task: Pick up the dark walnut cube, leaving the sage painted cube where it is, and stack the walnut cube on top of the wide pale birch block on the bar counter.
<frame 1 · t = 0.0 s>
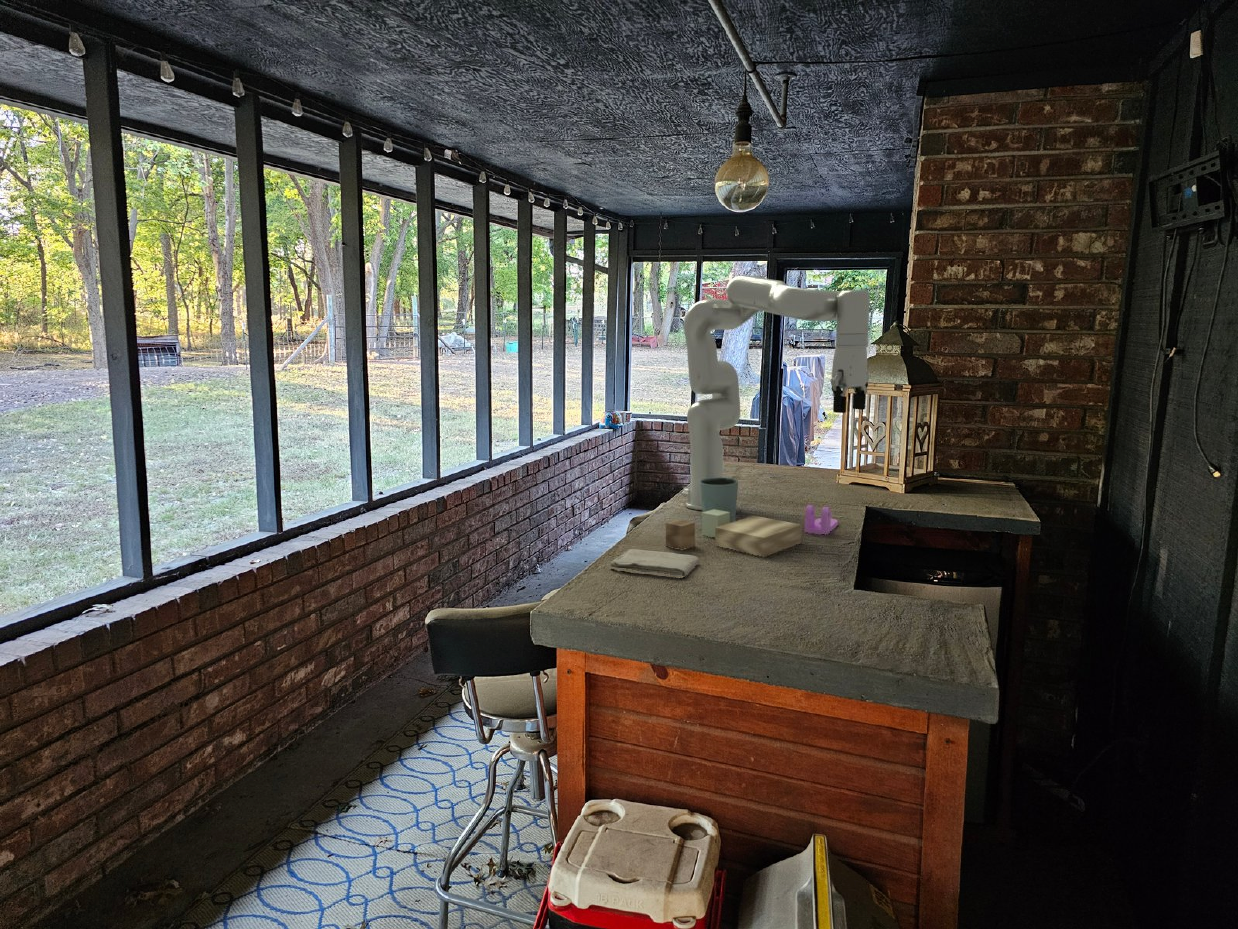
hand: (849, 410, 193), 31 cm above the table, tool pointing down, fingers open, 9 cm apart
washcloth: (654, 570, 172), on the table
birch block: (758, 546, 189), on the table
sage cube: (715, 535, 198), on the table
walnut cube: (680, 546, 188), on the table
bracket: (822, 529, 203), on the table
grey-green hollow cylinder: (718, 525, 208), on the table
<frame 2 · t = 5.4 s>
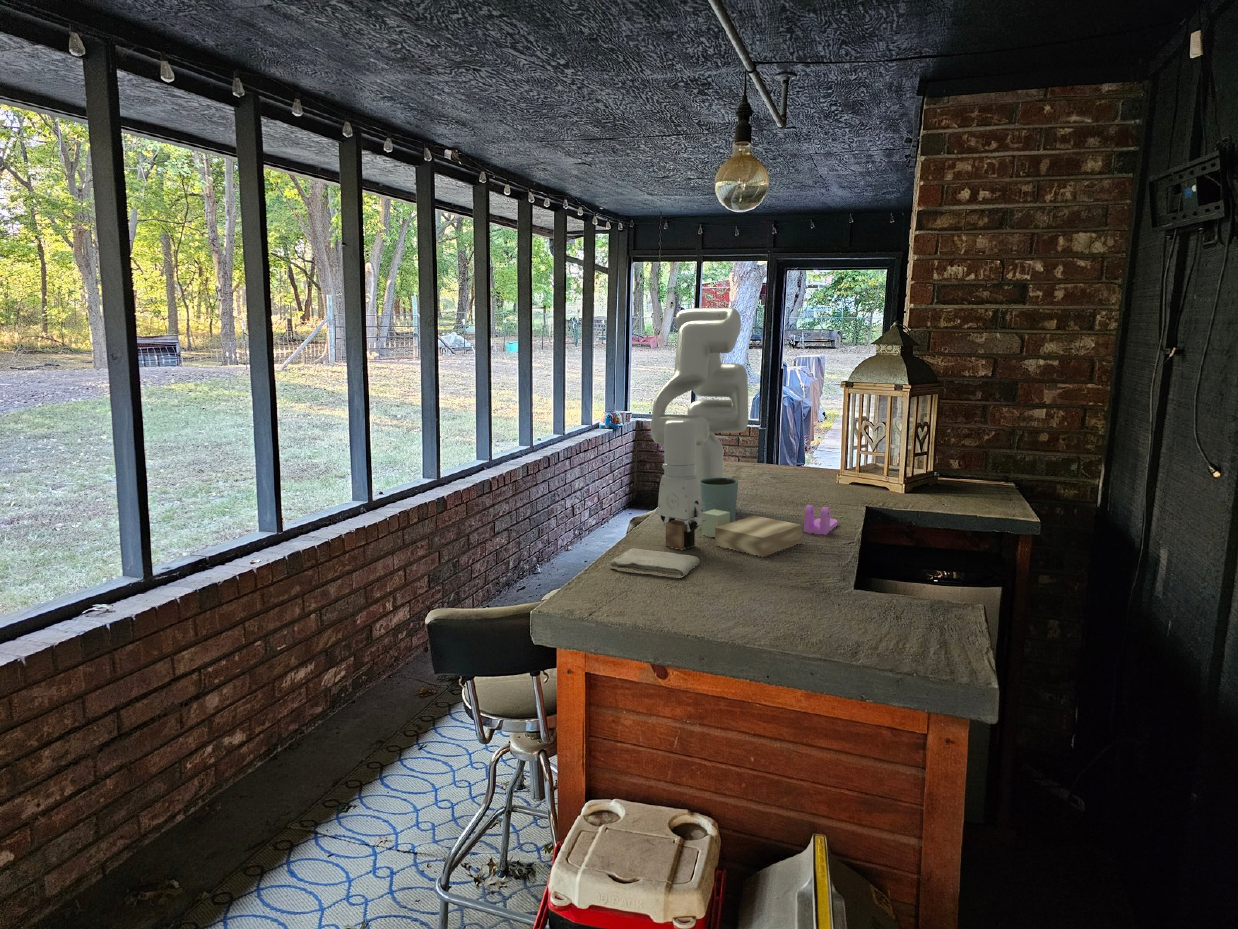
hand: (680, 543, 188), 1 cm above the table, tool pointing down, fingers closed on walnut cube, 5 cm apart
walnut cube: (680, 546, 188), on the table, touching gripper
everything else where it was.
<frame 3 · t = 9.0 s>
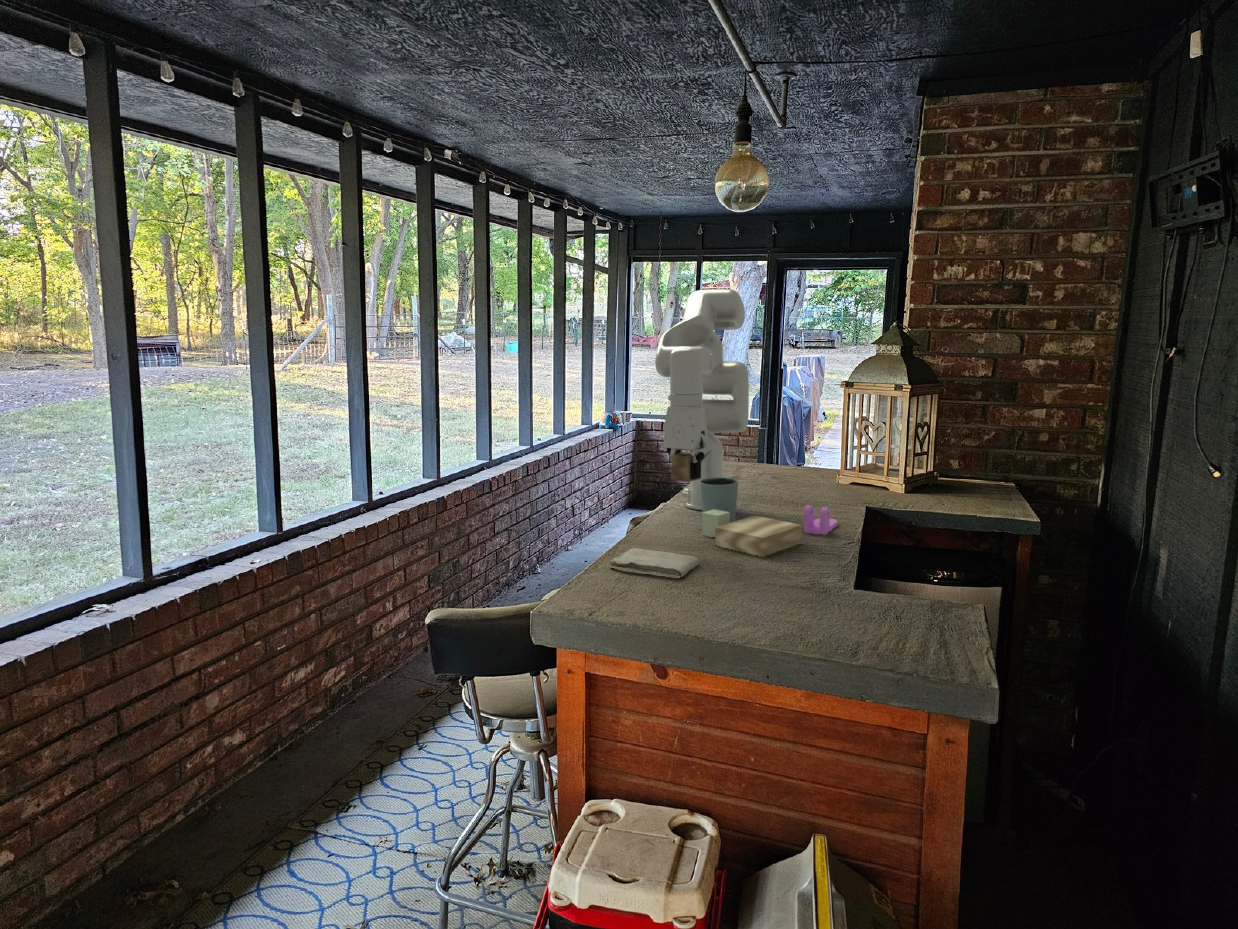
hand: (686, 476, 185), 17 cm above the table, tool pointing down, fingers closed on walnut cube, 5 cm apart
walnut cube: (686, 479, 185), point 17 cm above the table, touching gripper
everything else where it was.
when the fingers open (7 cm above the table, at t = 12.8 s): walnut cube drops 2 cm, point 5 cm above the table.
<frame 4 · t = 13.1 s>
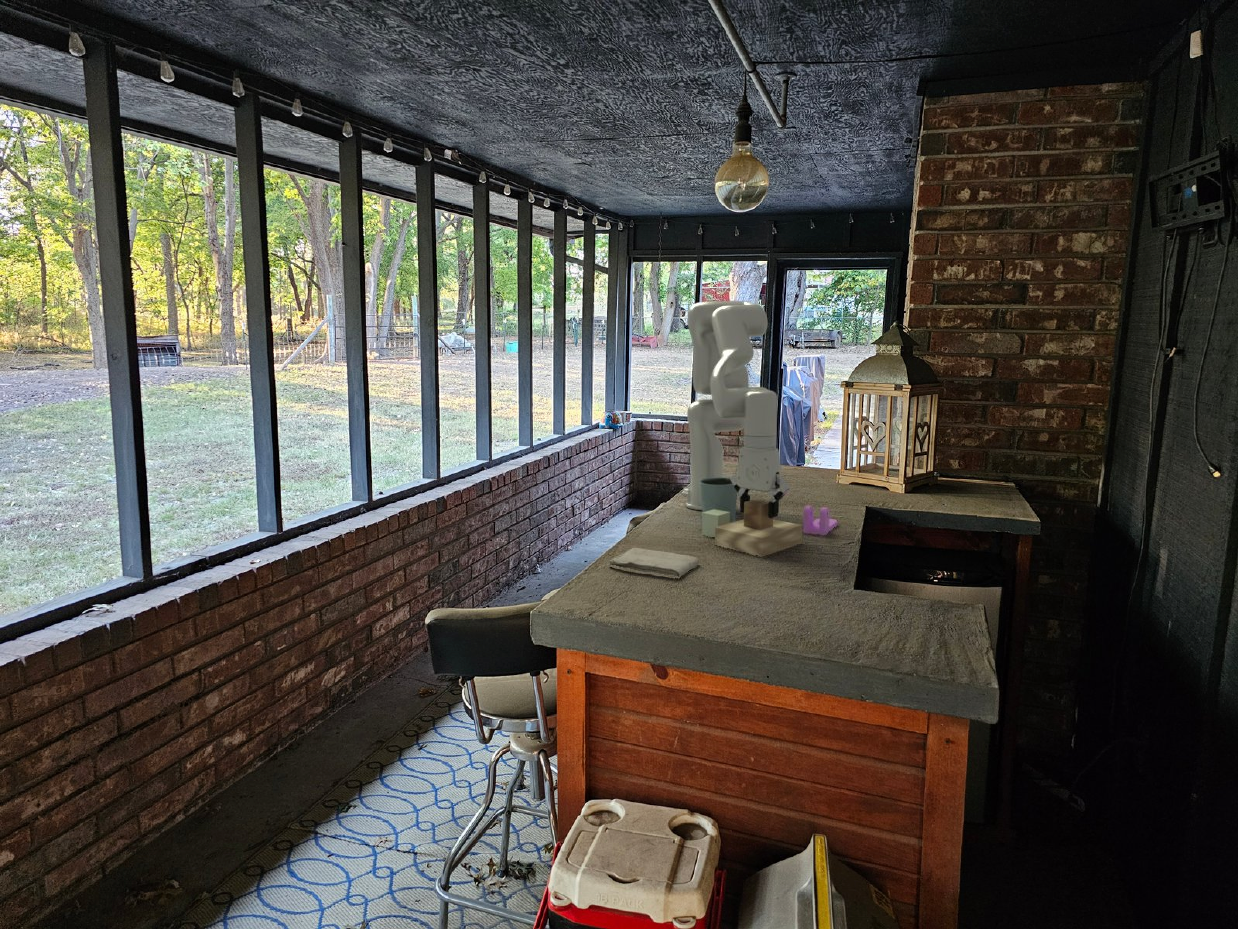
hand: (758, 514, 188), 8 cm above the table, tool pointing down, fingers open, 7 cm apart
walnut cube: (758, 526, 188), point 5 cm above the table
everything else where it was.
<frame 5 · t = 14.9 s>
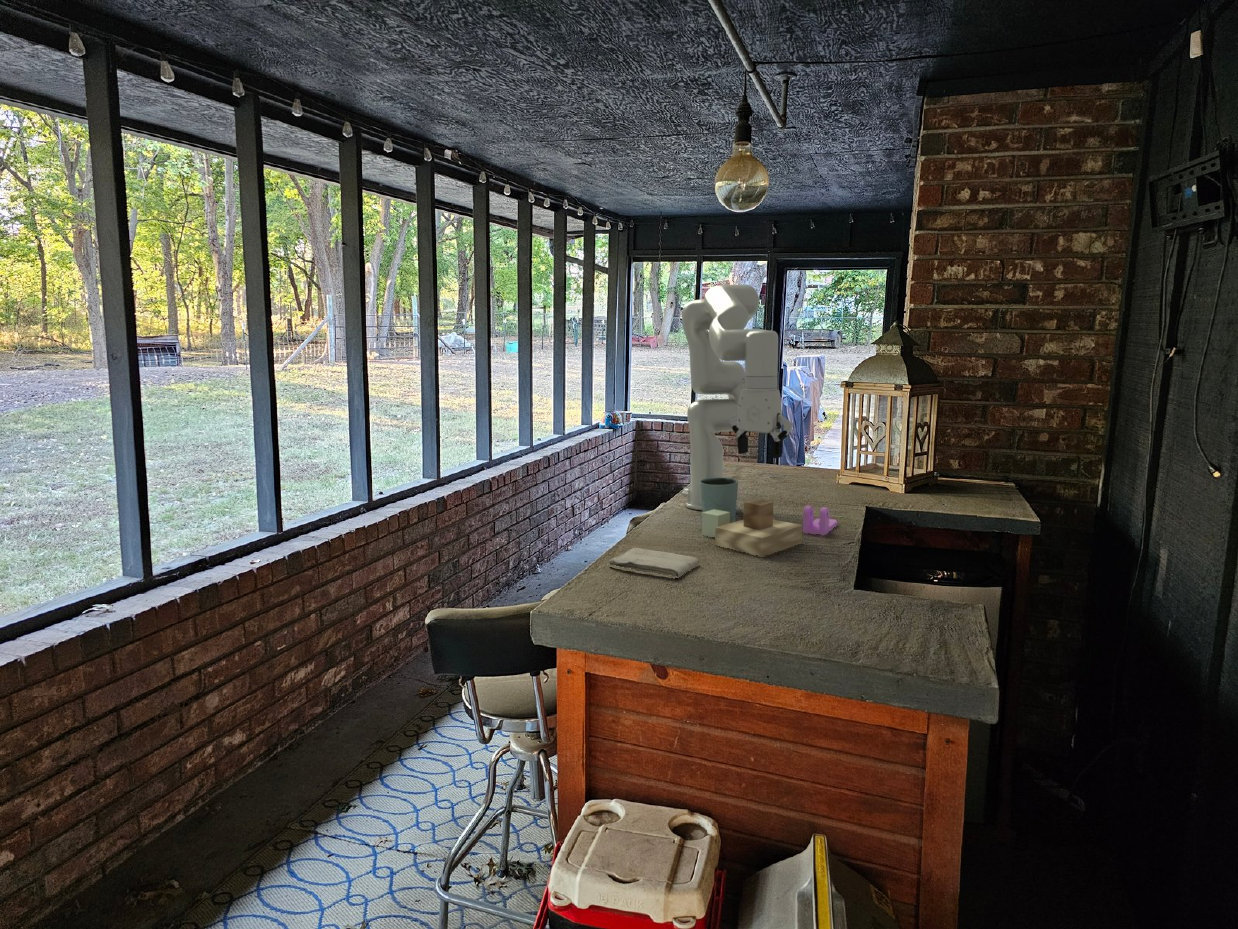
hand: (759, 455, 185), 22 cm above the table, tool pointing down, fingers open, 9 cm apart
birch block: (758, 546, 189), on the table, touching walnut cube
walnut cube: (758, 526, 188), point 5 cm above the table, touching birch block
everything else where it was.
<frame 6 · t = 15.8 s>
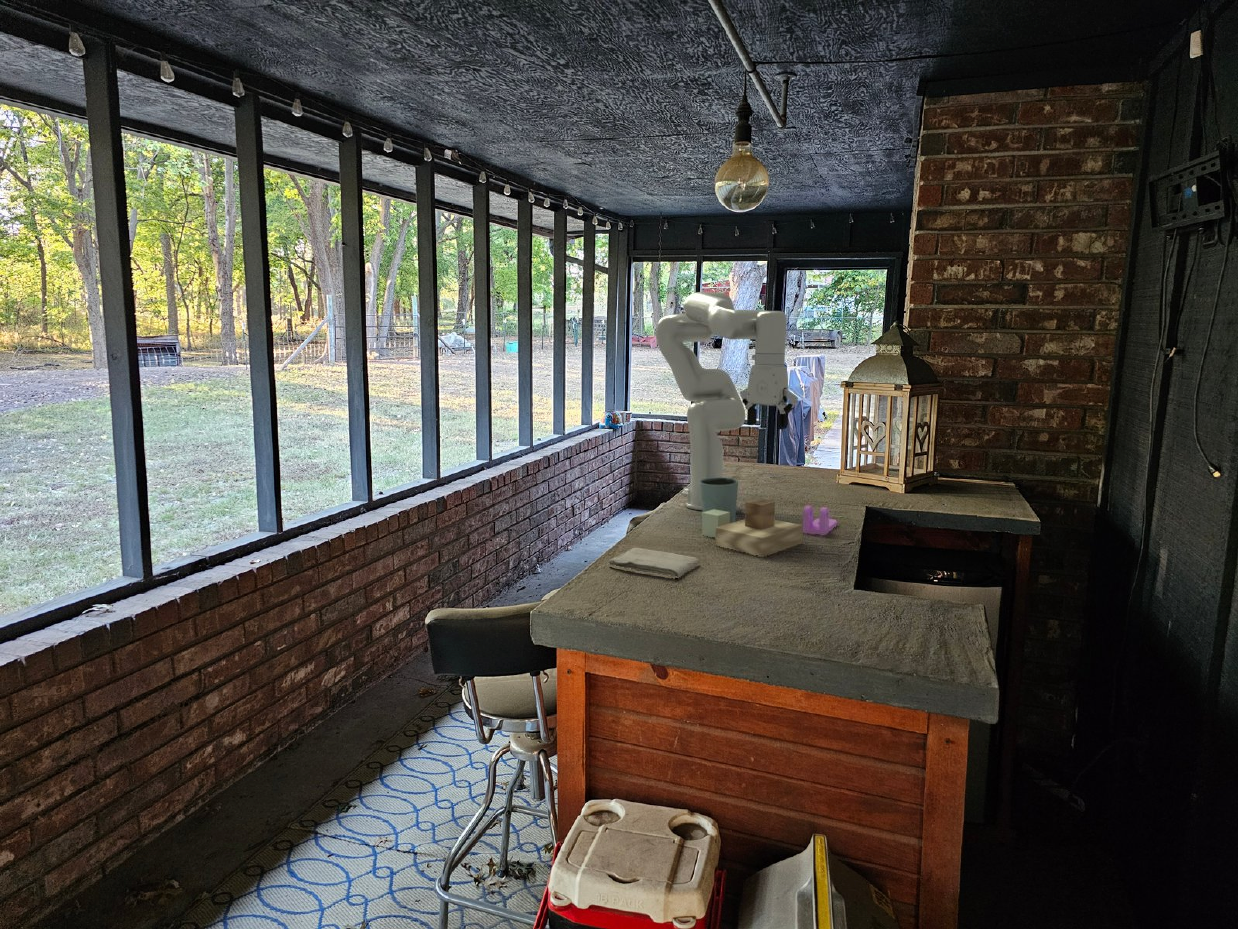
hand: (766, 426, 201), 27 cm above the table, tool pointing down, fingers open, 9 cm apart
nothing on the table moved.
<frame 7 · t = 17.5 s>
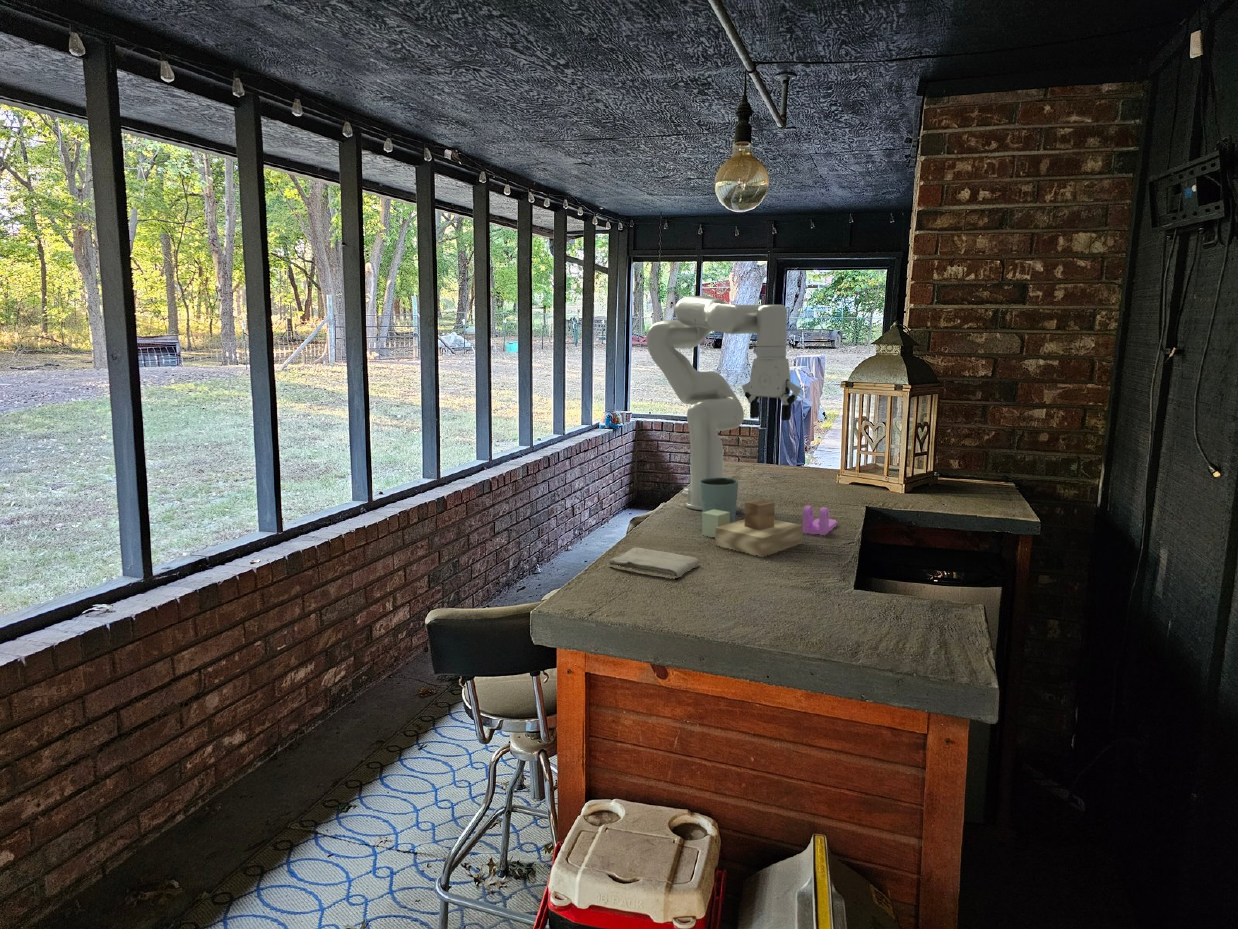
hand: (770, 418, 204), 28 cm above the table, tool pointing down, fingers open, 9 cm apart
nothing on the table moved.
at the end: walnut cube inside the target area on the birch block (0.1 cm from its centre), point 5.0 cm above the birch block's base; walnut cube tilted 0°; the gripper is holding nothing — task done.
